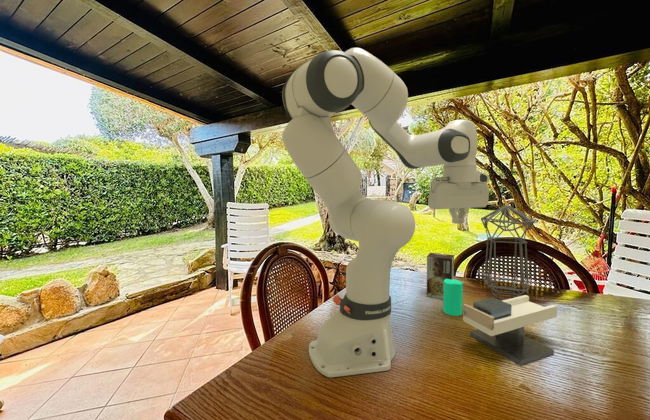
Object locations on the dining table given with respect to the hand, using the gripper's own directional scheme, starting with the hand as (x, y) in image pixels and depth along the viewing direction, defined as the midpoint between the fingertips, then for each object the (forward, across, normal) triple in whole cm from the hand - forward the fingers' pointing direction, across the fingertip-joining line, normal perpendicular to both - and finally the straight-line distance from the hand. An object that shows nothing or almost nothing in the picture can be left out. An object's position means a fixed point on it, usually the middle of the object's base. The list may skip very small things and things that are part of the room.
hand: (458, 223), depth 80 cm
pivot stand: (+31, +4, -14) cm, 34 cm away
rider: (+23, -3, -14) cm, 27 cm away
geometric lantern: (+31, +35, +10) cm, 48 cm away
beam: (+24, +4, -14) cm, 28 cm away
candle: (+31, +5, +6) cm, 32 cm away
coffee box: (+31, +11, +18) cm, 38 cm away
